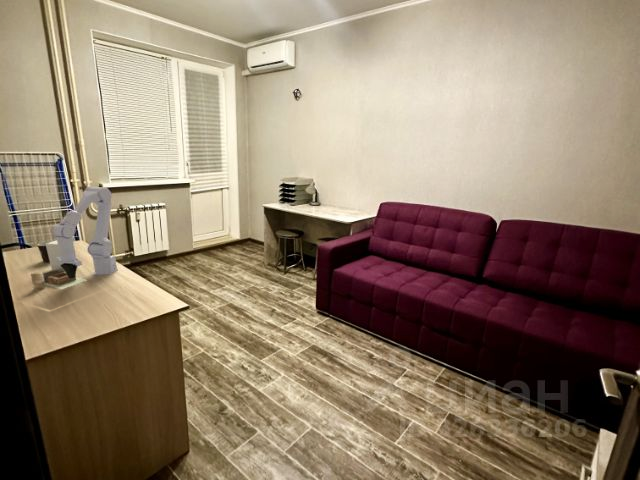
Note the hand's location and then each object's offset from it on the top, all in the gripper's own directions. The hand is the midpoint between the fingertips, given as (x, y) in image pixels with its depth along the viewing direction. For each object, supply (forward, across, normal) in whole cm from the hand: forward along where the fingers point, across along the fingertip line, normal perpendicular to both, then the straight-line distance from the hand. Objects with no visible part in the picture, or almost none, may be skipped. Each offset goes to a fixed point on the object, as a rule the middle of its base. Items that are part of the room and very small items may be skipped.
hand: (72, 277), depth 158 cm
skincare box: (+4, -23, +10) cm, 25 cm away
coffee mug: (+4, -43, +15) cm, 46 cm away
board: (+4, -6, 0) cm, 7 cm away
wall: (+3, -13, 0) cm, 13 cm away
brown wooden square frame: (+3, -8, 0) cm, 8 cm away
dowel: (+4, -8, -10) cm, 13 cm away
